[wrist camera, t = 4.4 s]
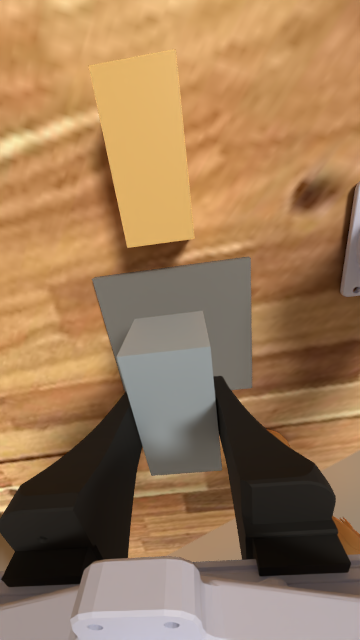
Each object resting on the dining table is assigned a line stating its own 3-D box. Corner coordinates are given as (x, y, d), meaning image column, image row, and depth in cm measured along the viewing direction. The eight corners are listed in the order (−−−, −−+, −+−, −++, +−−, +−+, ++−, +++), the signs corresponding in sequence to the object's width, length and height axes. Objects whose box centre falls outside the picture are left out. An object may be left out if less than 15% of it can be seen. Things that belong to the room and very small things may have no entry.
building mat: (248, 256, 17) (250, 257, 17) (250, 383, 22) (252, 387, 21) (94, 277, 18) (92, 279, 18) (128, 395, 23) (127, 399, 22)
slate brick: (202, 310, 13) (210, 346, 9) (213, 413, 16) (222, 470, 13) (134, 318, 13) (116, 356, 10) (158, 418, 17) (151, 475, 13)
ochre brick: (177, 94, 14) (175, 48, 10) (192, 234, 17) (194, 238, 13) (113, 105, 14) (88, 65, 10) (139, 242, 17) (127, 247, 14)
